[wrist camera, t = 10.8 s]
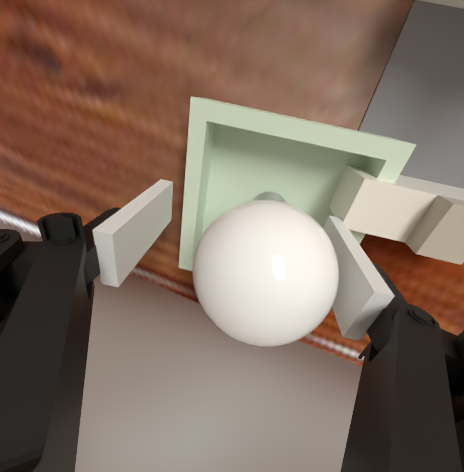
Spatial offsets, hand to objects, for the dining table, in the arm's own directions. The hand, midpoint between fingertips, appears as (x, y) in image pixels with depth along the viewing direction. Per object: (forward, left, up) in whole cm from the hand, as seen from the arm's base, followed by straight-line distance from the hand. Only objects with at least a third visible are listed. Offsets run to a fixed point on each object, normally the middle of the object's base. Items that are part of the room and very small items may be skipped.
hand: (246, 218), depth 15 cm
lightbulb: (+1, 0, -3) cm, 4 cm away
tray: (+2, 0, -4) cm, 4 cm away
